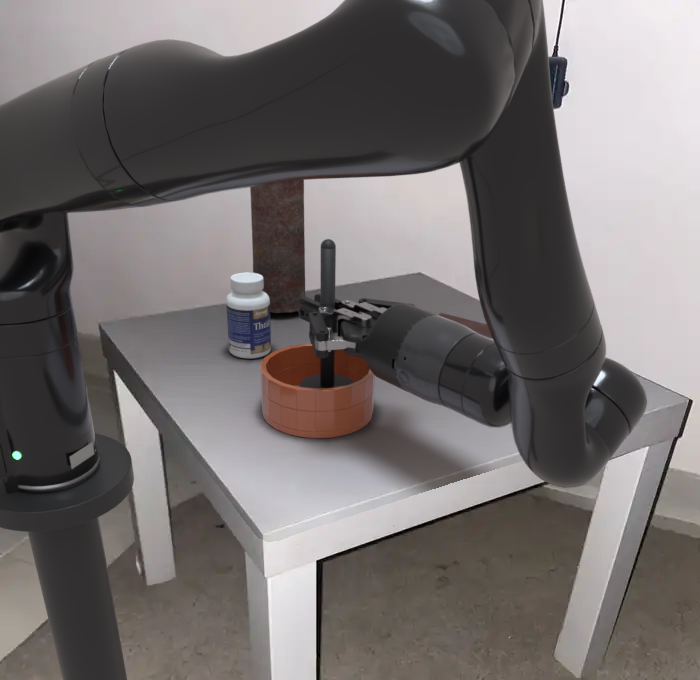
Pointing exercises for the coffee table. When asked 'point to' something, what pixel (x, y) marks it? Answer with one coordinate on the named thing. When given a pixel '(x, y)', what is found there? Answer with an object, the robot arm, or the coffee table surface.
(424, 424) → the coffee table surface
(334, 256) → the paper towel holder
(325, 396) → the bowl
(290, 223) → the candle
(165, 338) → the coffee table surface
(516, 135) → the robot arm
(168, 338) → the coffee table surface
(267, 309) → the pill bottle
